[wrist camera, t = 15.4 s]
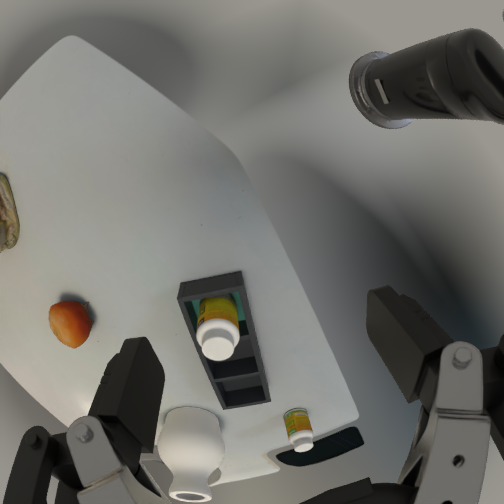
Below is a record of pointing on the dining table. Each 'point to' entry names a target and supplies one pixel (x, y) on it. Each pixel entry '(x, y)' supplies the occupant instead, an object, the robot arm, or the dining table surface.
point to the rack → (245, 353)
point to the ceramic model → (7, 216)
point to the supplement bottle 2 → (299, 429)
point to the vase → (191, 451)
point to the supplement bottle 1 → (218, 326)
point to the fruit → (70, 322)
